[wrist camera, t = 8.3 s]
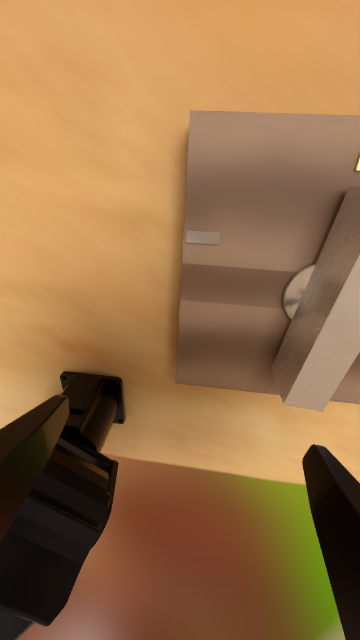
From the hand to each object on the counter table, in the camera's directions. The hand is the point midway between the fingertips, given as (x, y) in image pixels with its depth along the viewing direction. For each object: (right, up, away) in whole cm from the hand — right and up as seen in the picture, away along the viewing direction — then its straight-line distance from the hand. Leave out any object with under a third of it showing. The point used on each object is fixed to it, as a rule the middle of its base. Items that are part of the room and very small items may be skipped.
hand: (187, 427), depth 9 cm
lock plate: (+9, +7, +10) cm, 15 cm away
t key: (+9, +7, +9) cm, 14 cm away
